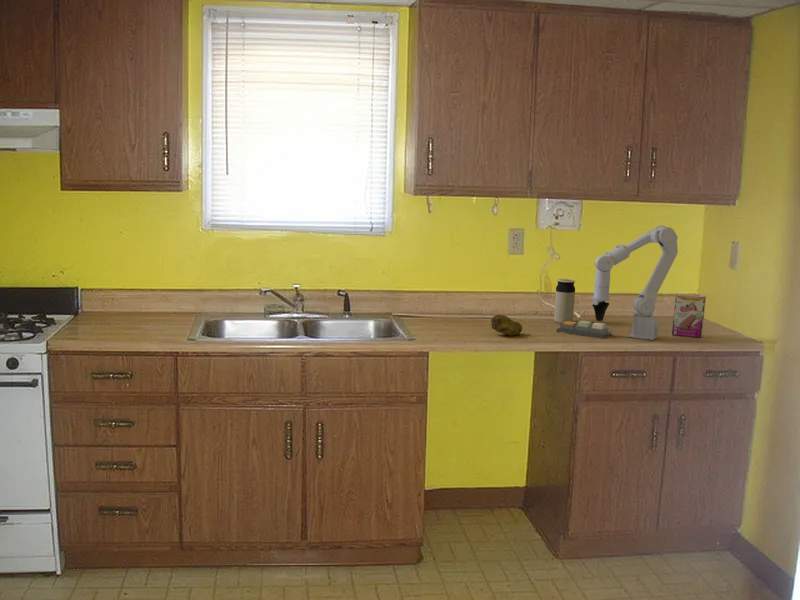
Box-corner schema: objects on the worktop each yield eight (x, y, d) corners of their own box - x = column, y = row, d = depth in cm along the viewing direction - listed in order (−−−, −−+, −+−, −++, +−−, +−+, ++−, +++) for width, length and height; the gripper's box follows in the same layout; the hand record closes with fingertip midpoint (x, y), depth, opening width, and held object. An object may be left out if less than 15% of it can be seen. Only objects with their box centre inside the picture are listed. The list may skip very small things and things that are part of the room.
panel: (611, 334, 326) (611, 327, 325) (603, 338, 317) (603, 330, 317) (565, 328, 336) (566, 321, 335) (556, 332, 327) (556, 324, 327)
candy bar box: (671, 335, 328) (675, 294, 325) (673, 333, 332) (676, 293, 330) (701, 338, 323) (705, 297, 321) (702, 336, 328) (706, 295, 325)
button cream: (605, 328, 324) (605, 323, 323) (602, 330, 320) (602, 325, 320) (595, 327, 326) (596, 322, 325) (592, 328, 322) (592, 323, 322)
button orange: (576, 327, 330) (576, 322, 330) (572, 328, 327) (572, 323, 326) (566, 325, 332) (567, 321, 332) (563, 327, 329) (563, 322, 329)
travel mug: (562, 324, 344) (565, 281, 342) (550, 321, 351) (552, 279, 348) (576, 323, 348) (579, 280, 346) (564, 319, 355) (566, 278, 352)
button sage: (590, 326, 327) (591, 321, 326) (587, 328, 323) (587, 323, 323) (581, 325, 329) (581, 320, 329) (577, 326, 326) (577, 321, 325)
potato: (525, 337, 315) (526, 316, 314) (492, 337, 314) (493, 316, 312) (520, 333, 323) (521, 313, 322) (487, 332, 322) (488, 312, 321)
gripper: (598, 283, 329) (595, 317, 331) (585, 287, 316) (583, 322, 319) (615, 285, 325) (612, 319, 327) (603, 289, 313) (600, 324, 315)
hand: (599, 320), depth 323 cm, fingers closed
